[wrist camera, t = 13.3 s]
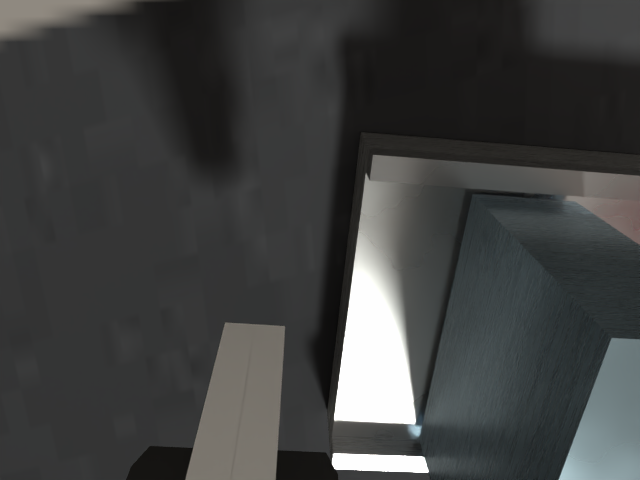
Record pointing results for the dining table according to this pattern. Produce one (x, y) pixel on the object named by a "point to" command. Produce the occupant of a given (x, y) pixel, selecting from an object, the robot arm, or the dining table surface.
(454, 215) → the vise bed
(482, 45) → the dining table surface
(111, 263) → the dining table surface
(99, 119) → the dining table surface
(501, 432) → the block
